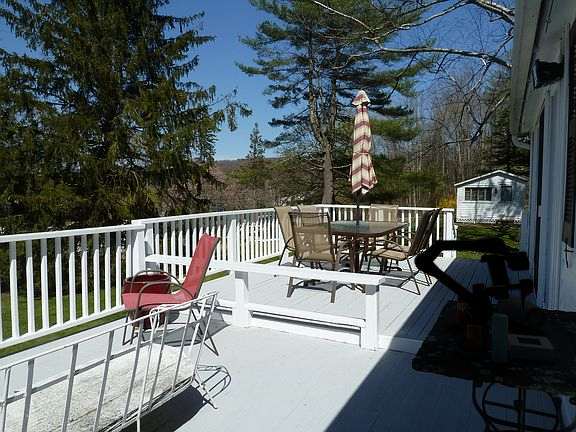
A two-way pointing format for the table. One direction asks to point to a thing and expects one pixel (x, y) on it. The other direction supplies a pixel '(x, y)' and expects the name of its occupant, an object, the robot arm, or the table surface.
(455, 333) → the table surface
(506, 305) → the dark curved piece
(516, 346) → the socket block
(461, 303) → the soda can
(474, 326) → the short peg
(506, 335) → the long peg
